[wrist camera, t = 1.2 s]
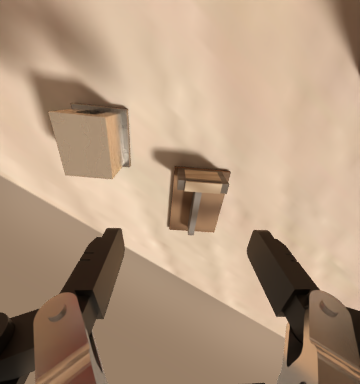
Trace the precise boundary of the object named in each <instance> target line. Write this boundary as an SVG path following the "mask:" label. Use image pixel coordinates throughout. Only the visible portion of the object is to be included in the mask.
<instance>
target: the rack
mask: <svg viewBox="0 0 360 384" xmlns="http://www.w3.org/2000/svg"><path fill="white" fill-rule="evenodd" d="M230 173H231V172H230V171H222V170H211V169H200V168H189V167H178V166H175V171H174V182H173V193H172V204H171V215H170V226H169V229H170V230H185V231H188V235H194V231H201V232H214V231H215V227H216V224H217V220H218V216H219V213H220V209H221V206H222V202H223V199H224V195H225V194H227V191H228V187H229V183H228V181H229V177H230Z"/></svg>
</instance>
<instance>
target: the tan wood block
mask: <svg viewBox="0 0 360 384" xmlns="http://www.w3.org/2000/svg"><path fill="white" fill-rule="evenodd" d="M48 113H49V117H50V120H51V124H52V128H53V131H54V135H55V139H56V142H57V146H58V150H59V153H60V157H61V161H62V165H63V168H64V172H65V175H69V176H81V177H93V178H105V179H113V178H114V177H115V175H116V174H117V173H118V172H119V170H120V169H121V168H122V166H123V165H124V164H125V160H124V146H123V131H122V117H121V113H115V112H105V113H101V114H96V115H95V114H90V110H88V109H79V108H76V109H66V110H57V111H48Z"/></svg>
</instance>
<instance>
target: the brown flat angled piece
mask: <svg viewBox="0 0 360 384" xmlns="http://www.w3.org/2000/svg"><path fill="white" fill-rule="evenodd" d="M71 108H72V109H76V108H79V109H88V110H90V114H95V115H96V114H101V113H105V112H115V113H121V117H122V131H123V146H124V160H125V164H124V165H123V167H130V166H131V159H130V139H129V119H128V109H122V108H113V107H104V106H95V105H86V104H77V103H71Z"/></svg>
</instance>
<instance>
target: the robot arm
mask: <svg viewBox="0 0 360 384" xmlns="http://www.w3.org/2000/svg"><path fill="white" fill-rule="evenodd" d="M124 251H125V246H124V240H123V235H122V230H121V228H107V229H106V231H105V232H104V234H103V236H102V237H97V238H95V239H94V240H93V241H92V242H91V243H90V244H89V245H88V247H87V248H86V250H85V252H84V254H83V255H82V257H81V258H80V261H79V262H78V264H77V265H76V267H75V269H74V270H73V272H72V274H71V276H70V277H69V279H68V281H67V282H66V284H65V286H64V287H63V289H62V290H61V292H60V293H59V294H58V295H56V296H54V297H52V298H51V299H49V300H48V301H47V302H46V303H44V304H43V305H42V306H41V308H40V309H37V310H34V311H31V312H28V313H25V314H22V315H19V316H15V317H12V318H9V317H8V316H7V315H6V314H4V313H0V384H24V383H25V381H26V379H27V377H28V375H29V373H30V372H33V371H35V384H108V382H107V380H106V377H105V374H104V370H103V367H102V363H101V360H100V356H99V353H98V349H97V345H96V342H95V338H94V335H93V331H92V328H93V326H94V323H95V320H96V319H104V316H105V313H106V310H107V307H108V304H109V301H110V297H111V294H112V291H113V288H114V285H115V282H116V279H117V276H118V273H119V270H120V266H121V263H122V260H123V257H124ZM247 255H248V258H249V260H250V262H251V264H252V266H253V269H254V271H255V273H256V275H257V277H258V279H259V281H260V283H261V285H262V287H263V290H264V292H265V294H266V296H267V298H268V300H269V302H270V304H271V306H272V308H273V311H274V313H275V315H276V317H286V319H287V320H288V323H287V326H286V335H285V345H284V354H283V364H282V370H281V373H280V375H279V378H278V381H277V384H360V311H358V310H354V309H351V308H348V307H345V306H344V305H343V304H342V303H341V302H340V301H339V300H338V299H337V298H335V297H334V296H332V295H330V294H329V293H326V292H324V291H320V290H319V288H318V287H317V286H316V285H315V283H314V282H313V281H312V279H311V278H310V277H309V275H308V274H307V273H306V272H305V270H304V269H303V268H302V266H301V265H300V264H299V263H298V262H297V260H296V259H295V257H294V256H293V255H292V253H291V252H290V251H289V250H288V248H287V247H286V246H285V245H284V244H283V243H281V242H280V241H279V240H278V239H274V237H273V236H272V235H271V233H270V232H269V231H268V230H254V231H253V233H252V235H251V238H250V241H249V244H248V247H247ZM255 384H265V383H255Z"/></svg>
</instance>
